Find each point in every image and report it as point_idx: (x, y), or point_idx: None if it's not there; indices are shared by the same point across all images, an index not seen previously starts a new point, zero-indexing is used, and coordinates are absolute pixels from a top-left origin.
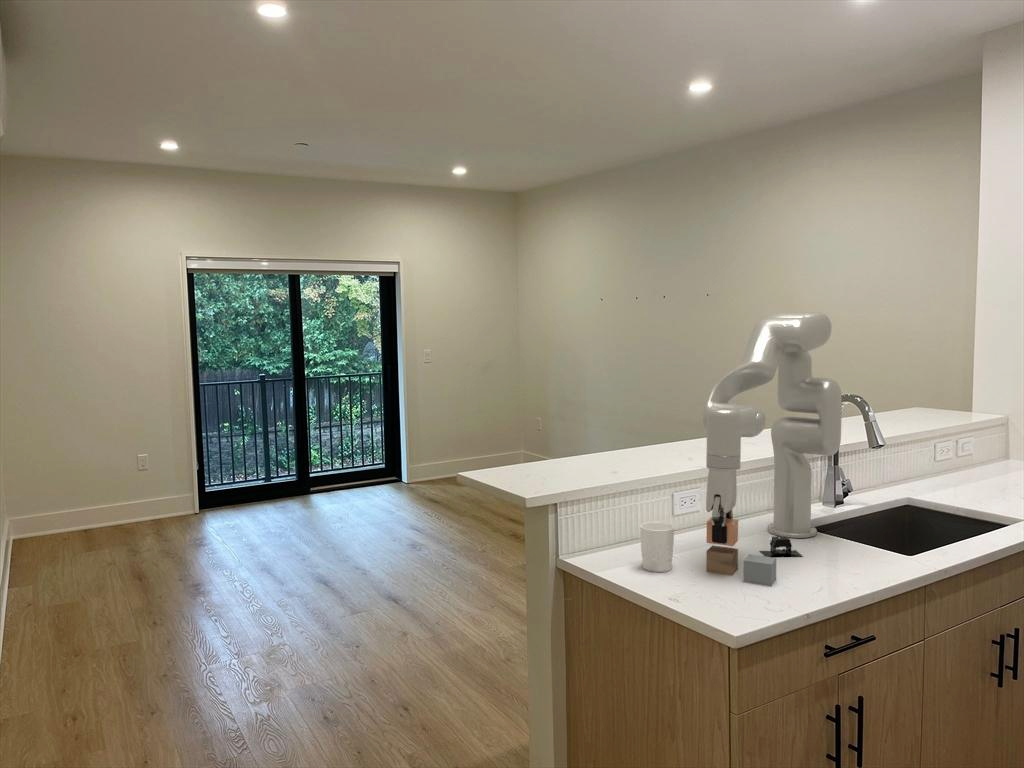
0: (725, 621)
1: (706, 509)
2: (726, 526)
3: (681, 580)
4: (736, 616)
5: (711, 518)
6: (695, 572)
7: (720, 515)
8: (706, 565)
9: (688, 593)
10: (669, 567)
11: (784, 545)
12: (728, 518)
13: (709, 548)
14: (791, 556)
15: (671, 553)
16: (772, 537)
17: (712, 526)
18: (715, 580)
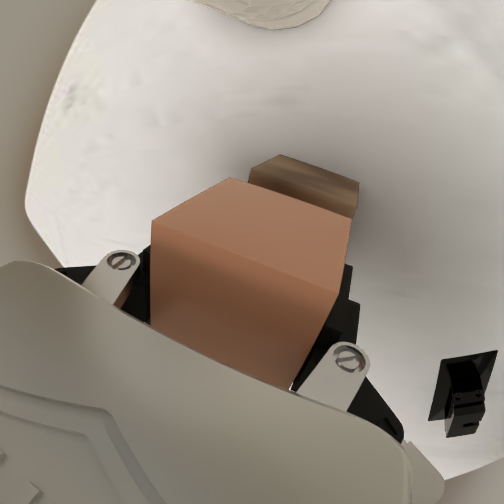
0: (40, 199)
1: (9, 263)
2: (149, 324)
3: (173, 80)
4: (56, 216)
5: (260, 274)
6: (261, 115)
7: (321, 361)
8: (272, 158)
9: (100, 118)
10: (250, 23)
11: (448, 416)
12: (295, 385)
13: (295, 185)
14: (434, 405)
15: (231, 14)
16: (478, 411)
17: (150, 247)
18: (201, 182)
